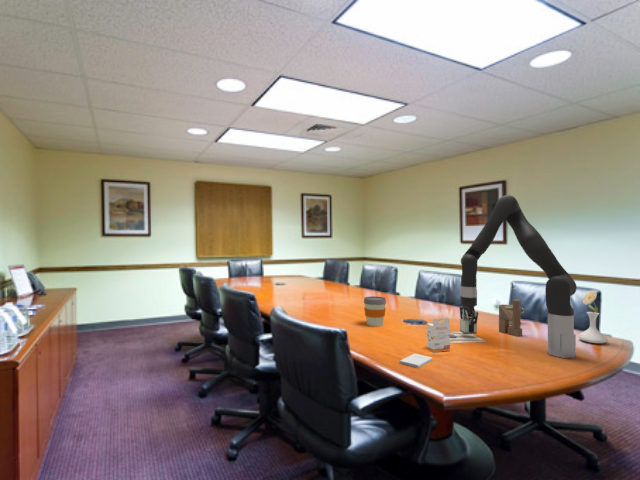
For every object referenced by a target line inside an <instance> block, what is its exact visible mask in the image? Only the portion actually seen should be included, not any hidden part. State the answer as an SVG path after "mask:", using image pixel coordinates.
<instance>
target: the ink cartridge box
mask: <svg viewBox="0 0 640 480" xmlns="http://www.w3.org/2000/svg"><path fill="white" fill-rule="evenodd" d="M450 327H451V326H450V318H449V317H441V318H432V323H426V333H427V334H426V346H427V348H428V349H431V350H432V351H430V353H433V354H435V353H445V352H449V350H445V349H451V343H450V332H451V329H450Z"/></svg>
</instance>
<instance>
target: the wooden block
mask: <svg viewBox="0 0 640 480" xmlns="http://www.w3.org/2000/svg"><path fill="white" fill-rule="evenodd" d="M504 305H505V304H498V332H499V333H502V334H508V335H511V336H515V337H522V336H523V328H522V327H521V315H522V314H521V313H522V312H521V308H522V307H521V300H520V299H516V298H514V299H512V305H513V314H512V315H511V314H510V312H509V311H508V310H507V308H506V307H505V306H504ZM509 320H510V321H512V325H509Z"/></svg>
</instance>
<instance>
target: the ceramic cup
mask: <svg viewBox="0 0 640 480" xmlns="http://www.w3.org/2000/svg"><path fill="white" fill-rule="evenodd" d="M503 305H504V306H505V307H506V308H507V310H508V311H509V312H510V314H511V315H512V314H513V304H503ZM521 309H522V310H523V311H522V312H521V315H522V314H524V312H525V308H523V307H521ZM509 326H512V321H510V320H509Z"/></svg>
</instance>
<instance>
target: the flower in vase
mask: <svg viewBox="0 0 640 480" xmlns="http://www.w3.org/2000/svg"><path fill="white" fill-rule="evenodd" d="M597 295H598V293H597V291H596V290H595V289H594V290H589V291H588V292H586V293H585V295H584V296H583V298H582V300H583V301H582V304H584V305H585V306H587V305H588V308H589V309H591V310H592V311H586V315H587V316H588V318H589V327H588V328H587V329H586V330H584V331H582V332H580V333H579V334H578V338H579V340H581V341H583V342H587V343H592V344H606V343H608V341H609V340H608V338H607V336H605V334H603V333H602V332H601V331H599V330H598V328H597V318H598V316H599V315H600V313H599V310H598V307H597V306H596V303H595V300H596V299H597ZM592 303H593V304H594V307H593V306H592Z"/></svg>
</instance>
